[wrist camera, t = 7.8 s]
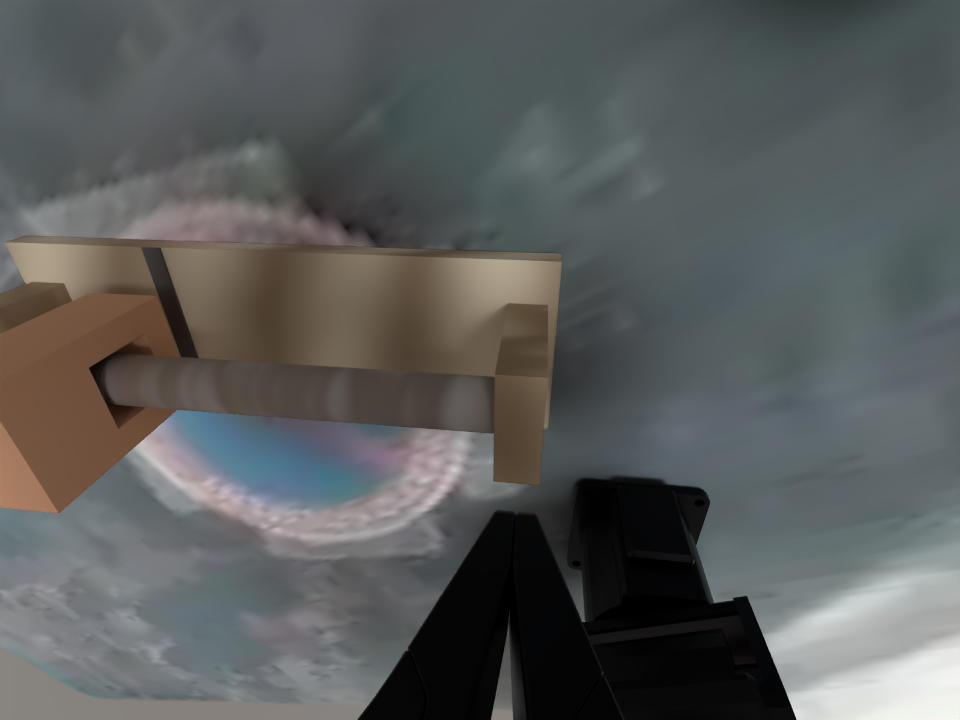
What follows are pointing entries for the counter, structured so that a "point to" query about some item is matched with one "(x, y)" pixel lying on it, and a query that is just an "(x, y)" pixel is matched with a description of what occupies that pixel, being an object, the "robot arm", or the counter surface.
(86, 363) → the brown block with hole
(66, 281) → the pipe stand
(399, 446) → the counter surface
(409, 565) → the counter surface
